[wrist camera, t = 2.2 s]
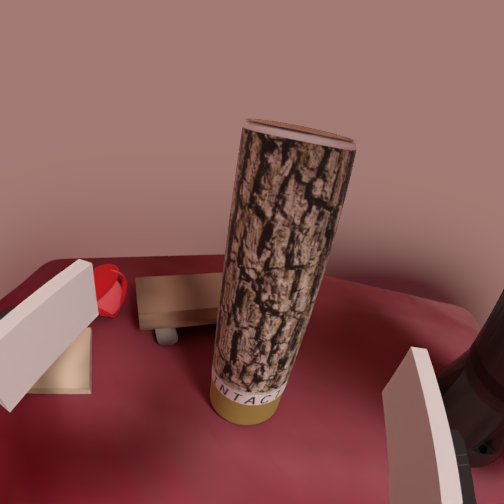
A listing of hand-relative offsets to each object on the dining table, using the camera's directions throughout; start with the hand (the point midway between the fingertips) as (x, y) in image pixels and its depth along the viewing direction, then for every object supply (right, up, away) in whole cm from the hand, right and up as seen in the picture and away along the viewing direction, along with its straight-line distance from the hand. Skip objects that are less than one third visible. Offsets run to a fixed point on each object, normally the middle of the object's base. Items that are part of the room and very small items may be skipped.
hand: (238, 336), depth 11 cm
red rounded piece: (-19, -4, +25) cm, 32 cm away
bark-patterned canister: (0, -12, +17) cm, 21 cm away
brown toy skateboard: (-4, -6, +27) cm, 28 cm away
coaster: (-21, -9, +15) cm, 27 cm away
